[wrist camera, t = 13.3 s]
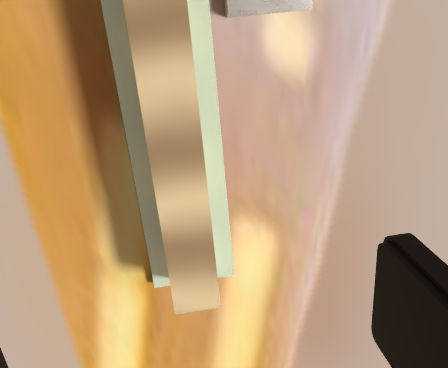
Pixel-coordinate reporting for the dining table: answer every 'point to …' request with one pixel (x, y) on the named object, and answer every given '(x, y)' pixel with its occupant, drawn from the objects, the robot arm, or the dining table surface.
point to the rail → (175, 147)
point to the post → (264, 7)
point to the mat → (137, 139)
